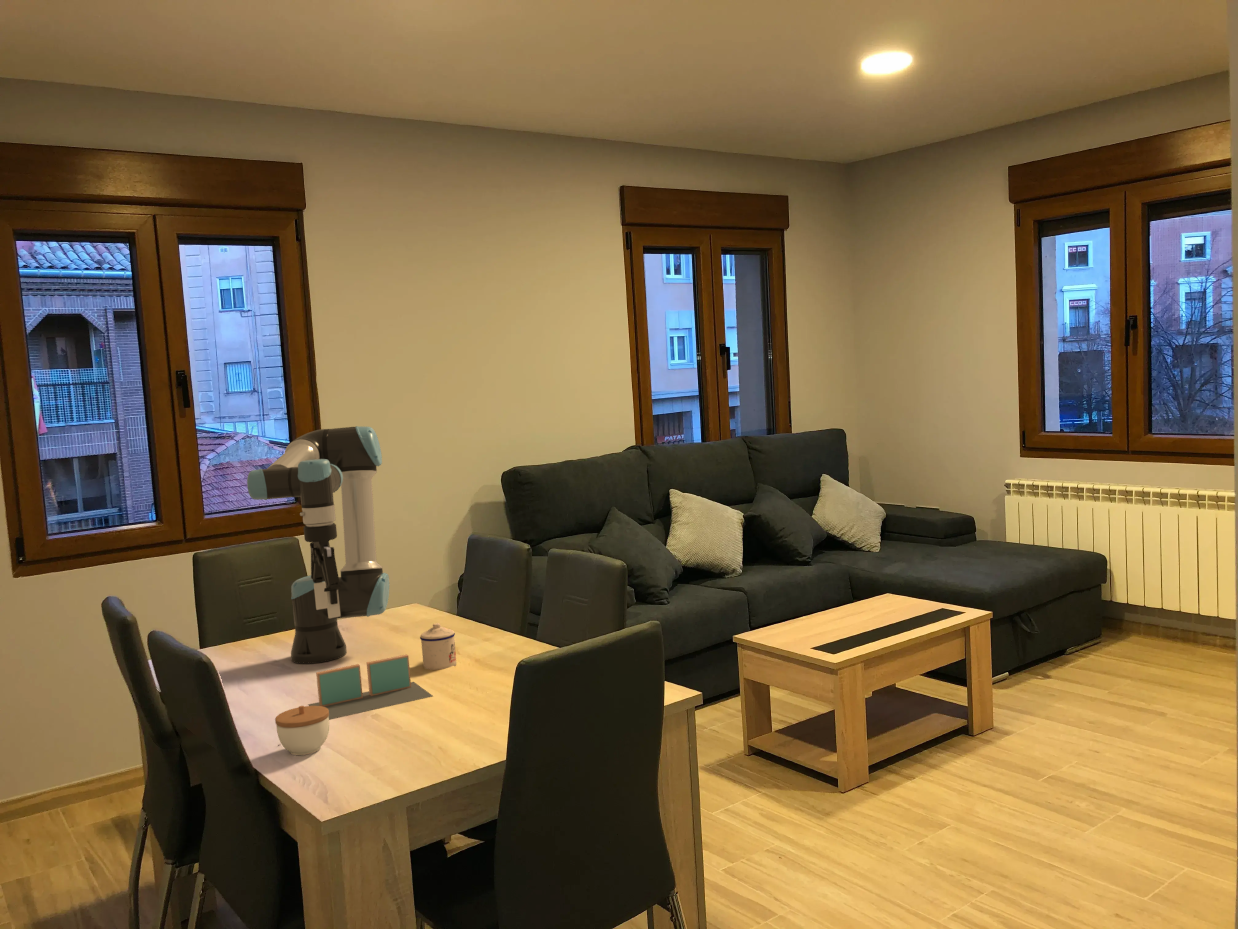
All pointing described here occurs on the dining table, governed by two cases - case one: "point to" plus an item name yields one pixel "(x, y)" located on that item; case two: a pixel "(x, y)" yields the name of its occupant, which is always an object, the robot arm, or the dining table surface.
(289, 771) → the dining table surface
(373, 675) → the tile far
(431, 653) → the teacup with lid
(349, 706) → the mat
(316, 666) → the dining table surface
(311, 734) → the lidded jar
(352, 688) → the tile near
